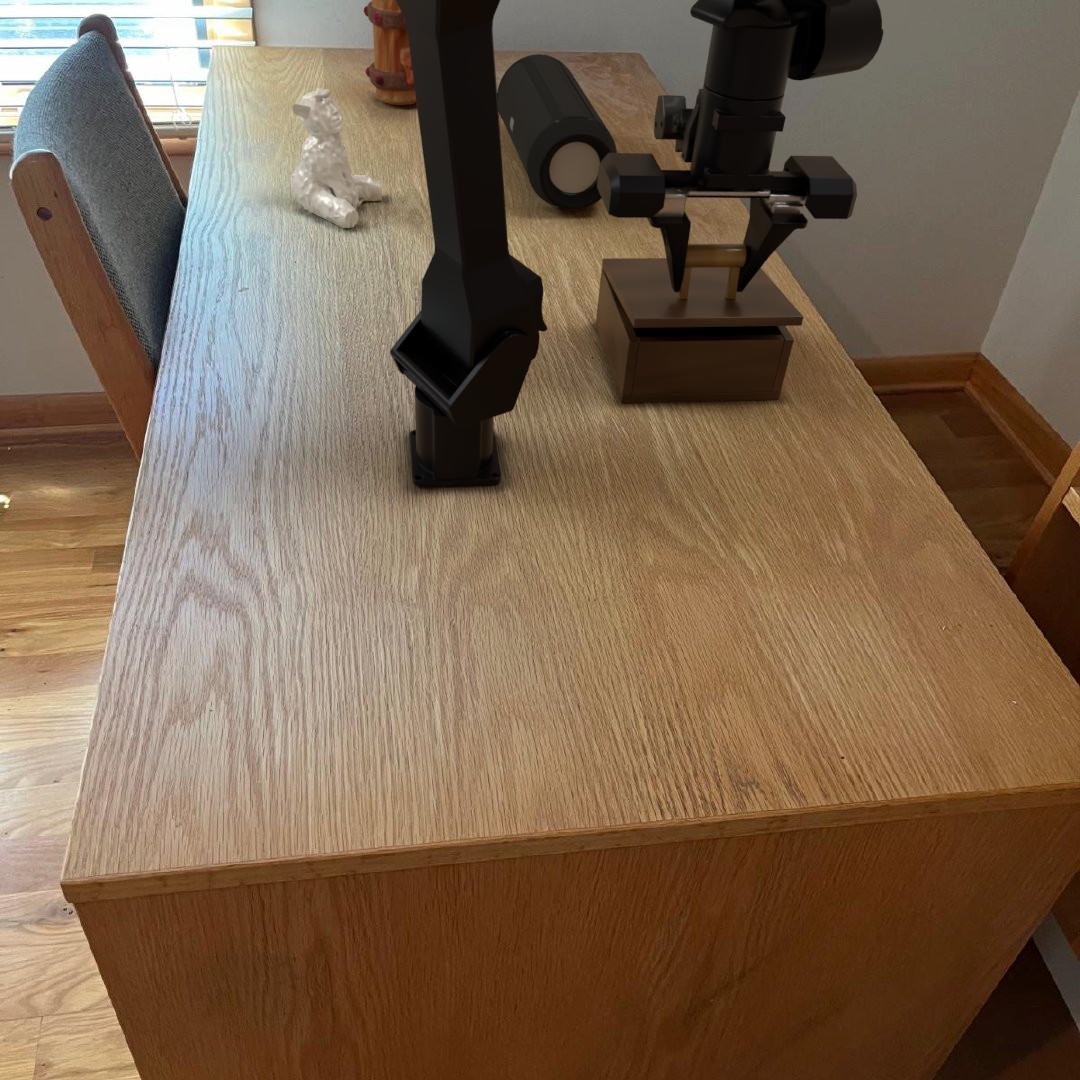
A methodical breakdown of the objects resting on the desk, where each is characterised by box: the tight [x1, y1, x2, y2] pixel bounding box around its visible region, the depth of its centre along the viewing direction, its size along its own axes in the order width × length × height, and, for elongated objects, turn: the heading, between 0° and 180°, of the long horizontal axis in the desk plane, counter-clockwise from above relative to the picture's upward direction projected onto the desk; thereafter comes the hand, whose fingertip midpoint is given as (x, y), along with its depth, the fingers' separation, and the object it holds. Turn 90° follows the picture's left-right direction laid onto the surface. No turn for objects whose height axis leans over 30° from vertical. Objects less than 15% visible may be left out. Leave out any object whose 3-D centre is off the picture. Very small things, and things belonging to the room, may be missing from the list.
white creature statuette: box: [290, 87, 383, 229], centre depth 105 cm, size 10×9×12 cm
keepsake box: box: [595, 267, 795, 404], centre depth 88 cm, size 13×14×6 cm
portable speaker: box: [497, 53, 618, 211], centre depth 117 cm, size 26×10×10 cm, turn 11°
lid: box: [601, 243, 804, 328], centre depth 84 cm, size 13×14×5 cm
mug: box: [363, 0, 417, 106], centre depth 128 cm, size 15×8×15 cm, turn 25°
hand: (706, 289), depth 83 cm, fingers closed on lid, 5 cm apart
